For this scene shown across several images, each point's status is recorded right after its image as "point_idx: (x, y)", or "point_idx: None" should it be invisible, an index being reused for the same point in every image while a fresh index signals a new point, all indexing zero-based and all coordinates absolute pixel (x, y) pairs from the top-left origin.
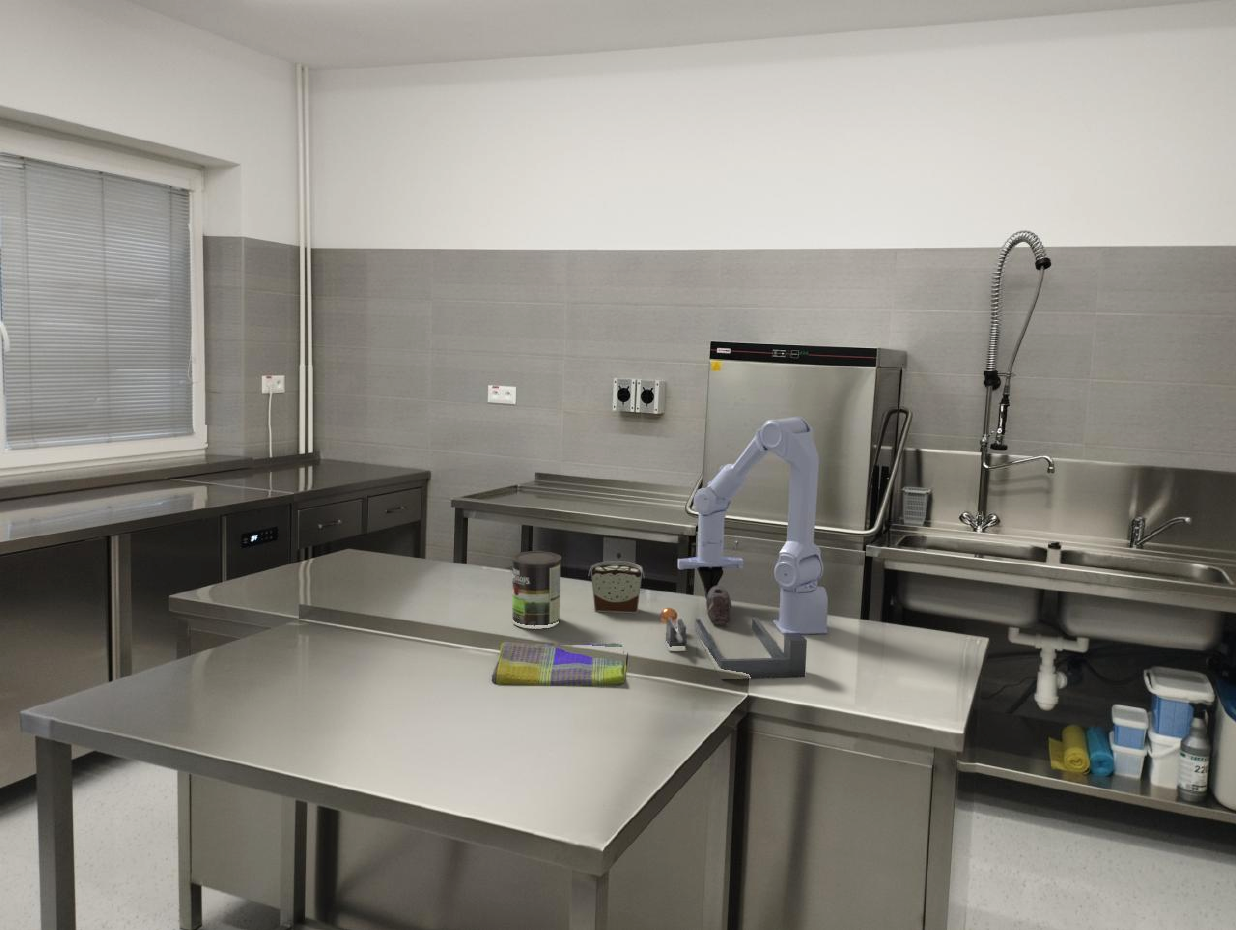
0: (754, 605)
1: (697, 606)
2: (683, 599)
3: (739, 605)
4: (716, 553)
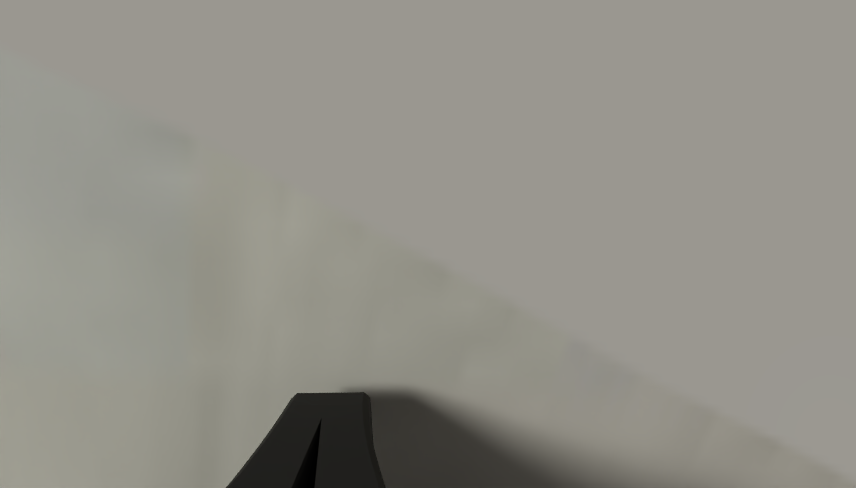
0: (825, 475)
1: (202, 479)
2: (28, 256)
3: (663, 469)
4: None
